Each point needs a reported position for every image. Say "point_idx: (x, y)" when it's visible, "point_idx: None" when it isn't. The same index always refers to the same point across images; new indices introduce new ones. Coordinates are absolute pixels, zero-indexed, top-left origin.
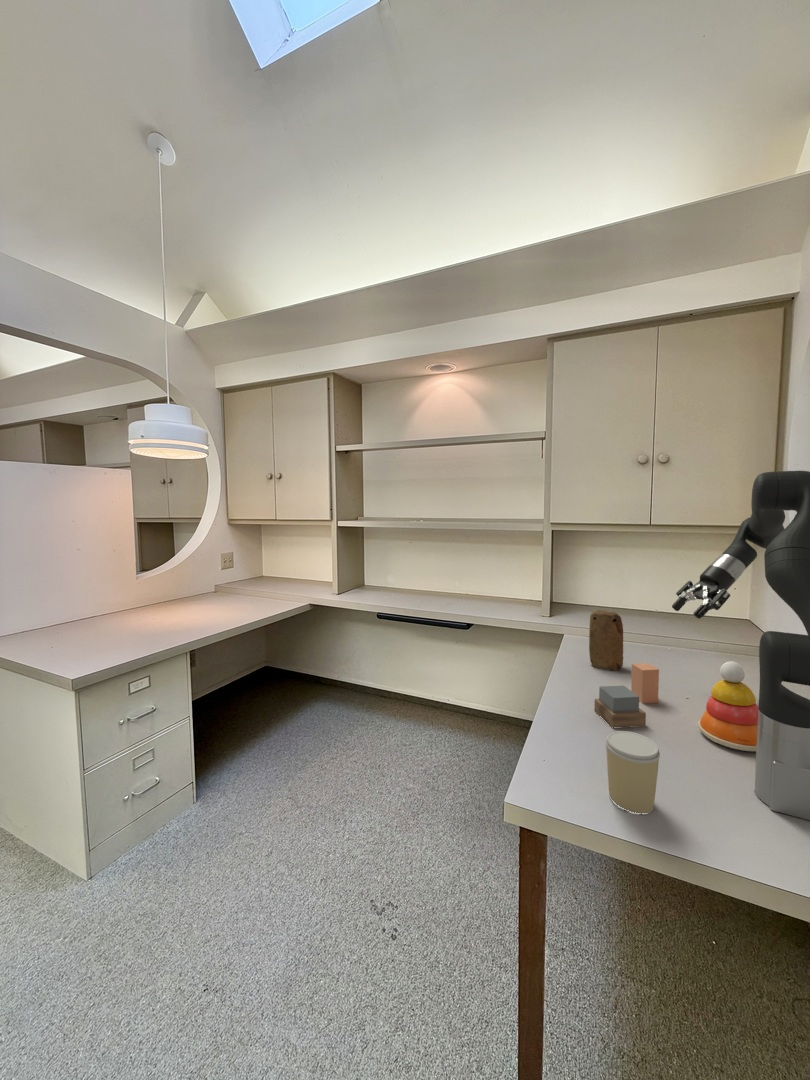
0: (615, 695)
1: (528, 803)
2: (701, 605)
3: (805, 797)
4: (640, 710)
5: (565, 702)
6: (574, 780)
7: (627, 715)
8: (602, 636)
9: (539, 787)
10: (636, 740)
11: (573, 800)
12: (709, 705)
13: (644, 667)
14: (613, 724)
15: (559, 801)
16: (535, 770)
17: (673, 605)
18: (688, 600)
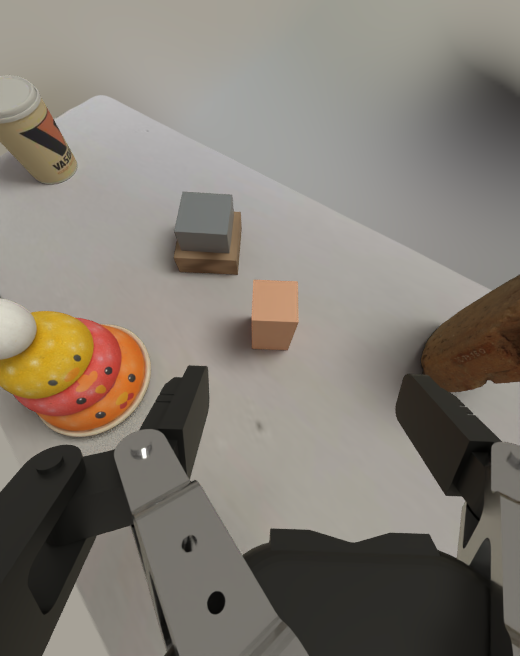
0: (190, 199)
1: (93, 100)
2: (175, 420)
3: None
4: (183, 255)
5: (278, 205)
6: (105, 141)
7: None
8: (495, 299)
9: (108, 113)
10: (3, 101)
11: (80, 129)
12: (89, 320)
13: (269, 295)
14: None
15: (84, 119)
16: (134, 119)
17: (420, 377)
18: (461, 528)
